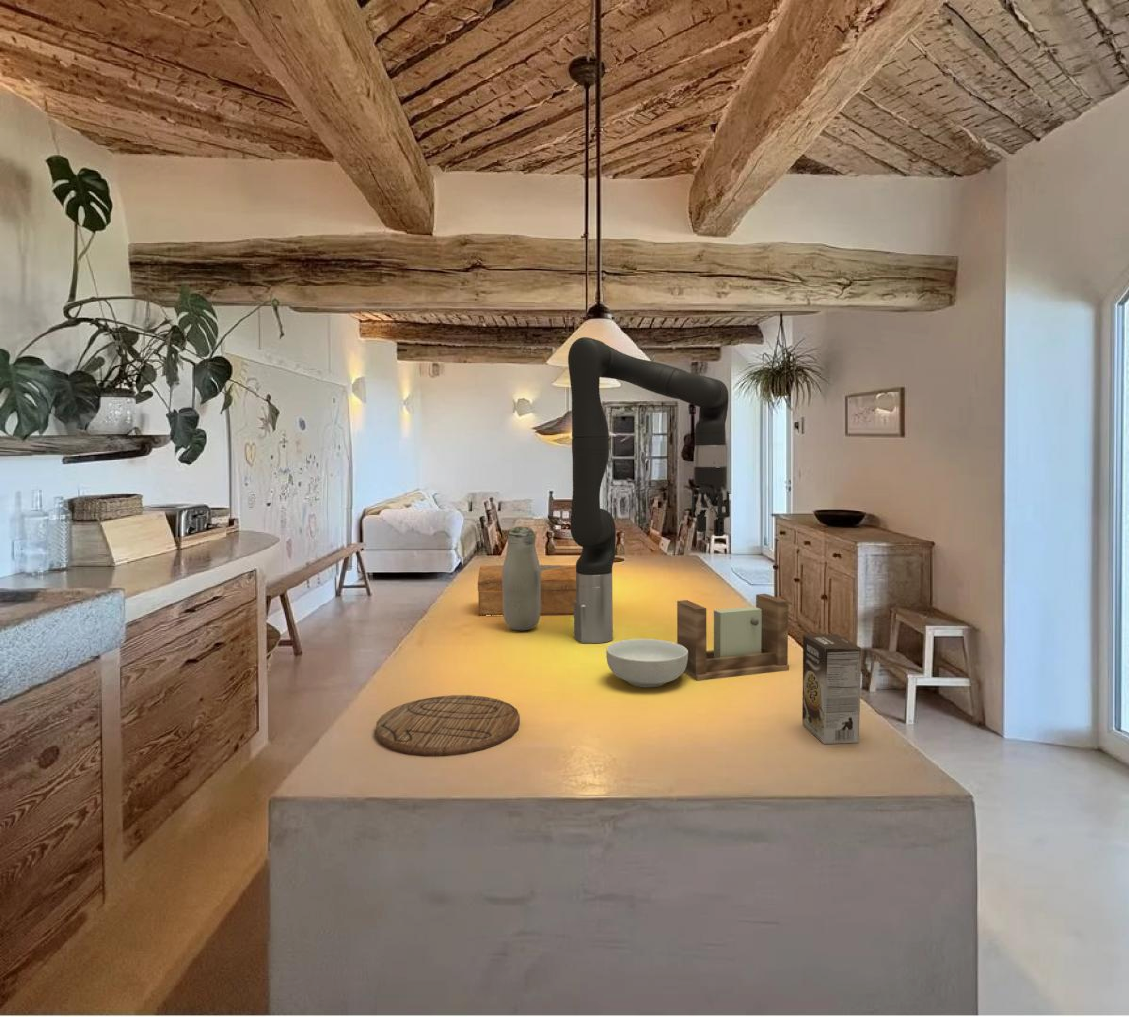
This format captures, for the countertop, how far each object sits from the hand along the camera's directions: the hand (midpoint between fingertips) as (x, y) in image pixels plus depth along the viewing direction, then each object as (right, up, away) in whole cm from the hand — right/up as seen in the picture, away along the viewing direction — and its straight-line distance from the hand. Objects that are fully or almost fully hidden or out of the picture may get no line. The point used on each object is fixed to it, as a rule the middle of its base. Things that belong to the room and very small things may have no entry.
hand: (710, 534), depth 175 cm
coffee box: (+11, -32, -49) cm, 59 cm away
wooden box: (-44, -25, +49) cm, 71 cm away
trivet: (-55, -33, -43) cm, 77 cm away
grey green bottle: (-45, -27, +26) cm, 59 cm away
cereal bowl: (-17, -30, -20) cm, 40 cm away
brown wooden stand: (+3, -29, -12) cm, 31 cm away
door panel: (+4, -28, -11) cm, 31 cm away
